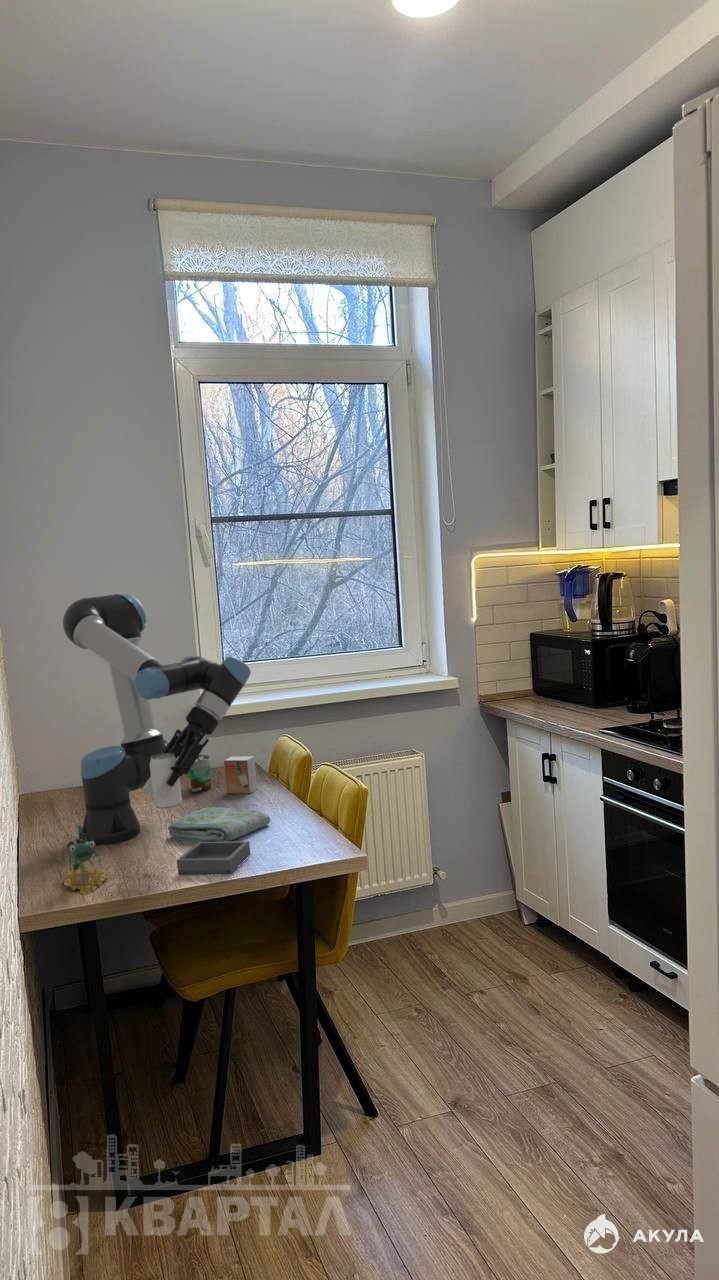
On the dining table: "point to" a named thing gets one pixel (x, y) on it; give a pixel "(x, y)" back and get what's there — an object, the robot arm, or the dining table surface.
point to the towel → (217, 824)
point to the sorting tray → (213, 858)
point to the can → (158, 771)
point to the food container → (201, 774)
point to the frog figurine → (85, 876)
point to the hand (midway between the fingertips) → (153, 794)
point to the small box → (240, 774)
